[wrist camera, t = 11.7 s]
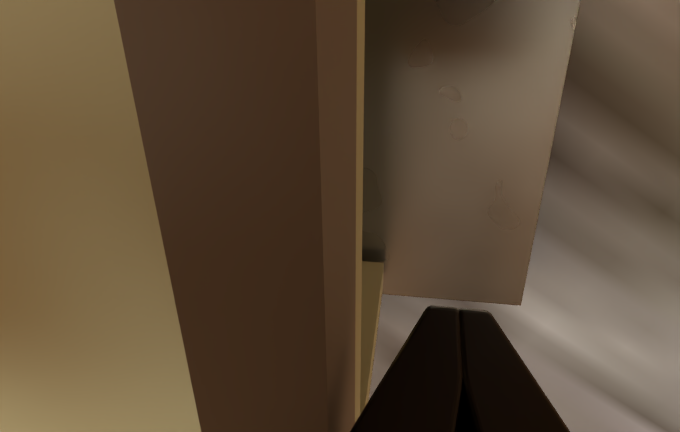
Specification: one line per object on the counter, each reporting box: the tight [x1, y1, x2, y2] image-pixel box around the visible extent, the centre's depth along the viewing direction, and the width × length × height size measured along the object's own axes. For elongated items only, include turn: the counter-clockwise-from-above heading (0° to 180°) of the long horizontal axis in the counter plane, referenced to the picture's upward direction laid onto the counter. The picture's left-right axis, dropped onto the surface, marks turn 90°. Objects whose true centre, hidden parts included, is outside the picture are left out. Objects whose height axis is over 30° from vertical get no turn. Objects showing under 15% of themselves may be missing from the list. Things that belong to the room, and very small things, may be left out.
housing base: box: [362, 0, 580, 305], centre depth 14 cm, size 11×20×4 cm, turn 91°
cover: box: [0, 0, 384, 432], centre depth 11 cm, size 10×7×9 cm
